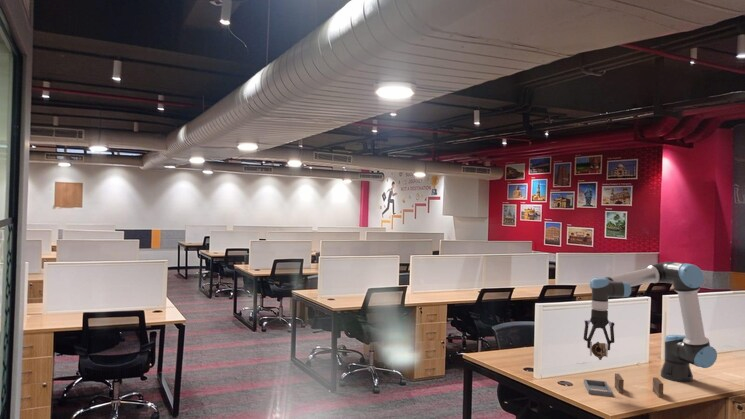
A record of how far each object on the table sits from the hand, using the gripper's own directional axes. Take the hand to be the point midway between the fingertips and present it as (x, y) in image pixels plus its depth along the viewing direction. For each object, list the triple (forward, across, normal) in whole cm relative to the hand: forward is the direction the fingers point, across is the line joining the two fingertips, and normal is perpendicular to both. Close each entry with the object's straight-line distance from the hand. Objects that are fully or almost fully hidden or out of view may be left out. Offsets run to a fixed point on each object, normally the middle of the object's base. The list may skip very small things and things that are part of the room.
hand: (598, 355), depth 254 cm
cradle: (+17, -19, -3) cm, 26 cm away
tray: (+17, 0, 0) cm, 17 cm away
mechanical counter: (+3, 0, 0) cm, 3 cm away
